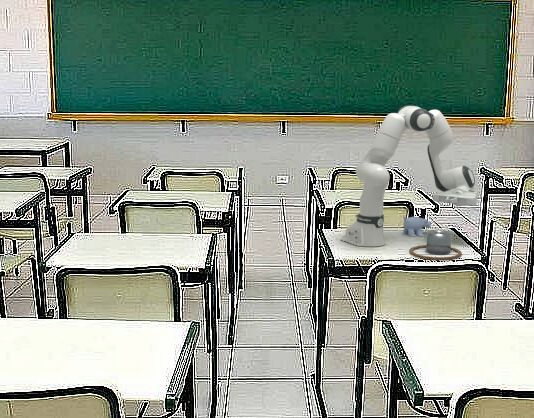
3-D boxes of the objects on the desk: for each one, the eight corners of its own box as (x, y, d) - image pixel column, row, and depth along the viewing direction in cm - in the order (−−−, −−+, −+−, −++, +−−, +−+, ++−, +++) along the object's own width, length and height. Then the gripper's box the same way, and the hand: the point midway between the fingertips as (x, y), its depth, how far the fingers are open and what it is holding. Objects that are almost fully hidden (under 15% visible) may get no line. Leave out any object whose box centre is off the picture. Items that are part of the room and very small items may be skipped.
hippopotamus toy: (434, 235, 378) (435, 217, 377) (406, 237, 375) (407, 218, 373) (425, 230, 389) (426, 212, 387) (398, 232, 386) (398, 214, 384)
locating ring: (399, 252, 346) (399, 250, 346) (430, 244, 361) (430, 242, 361) (440, 263, 329) (440, 260, 329) (471, 254, 344) (471, 251, 343)
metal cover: (421, 251, 348) (422, 230, 346) (435, 247, 355) (436, 226, 353) (440, 256, 340) (441, 234, 338) (455, 252, 347) (456, 230, 345)
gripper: (439, 188, 368) (428, 192, 357) (480, 192, 357) (470, 196, 346) (438, 200, 369) (427, 205, 358) (479, 205, 358) (469, 210, 347)
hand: (448, 201), depth 352 cm, fingers closed
